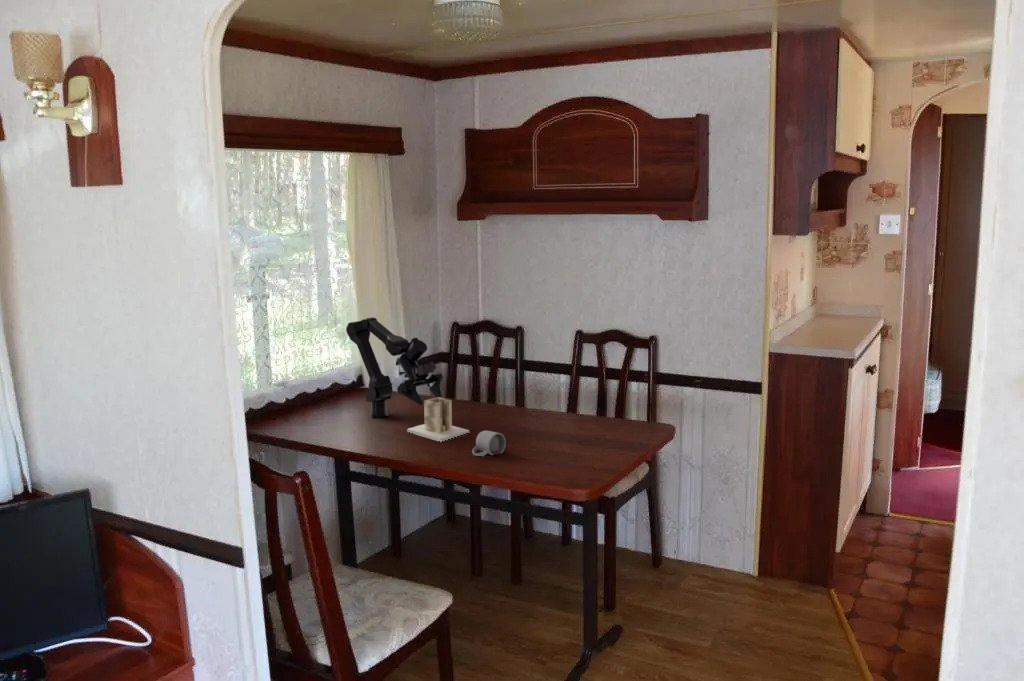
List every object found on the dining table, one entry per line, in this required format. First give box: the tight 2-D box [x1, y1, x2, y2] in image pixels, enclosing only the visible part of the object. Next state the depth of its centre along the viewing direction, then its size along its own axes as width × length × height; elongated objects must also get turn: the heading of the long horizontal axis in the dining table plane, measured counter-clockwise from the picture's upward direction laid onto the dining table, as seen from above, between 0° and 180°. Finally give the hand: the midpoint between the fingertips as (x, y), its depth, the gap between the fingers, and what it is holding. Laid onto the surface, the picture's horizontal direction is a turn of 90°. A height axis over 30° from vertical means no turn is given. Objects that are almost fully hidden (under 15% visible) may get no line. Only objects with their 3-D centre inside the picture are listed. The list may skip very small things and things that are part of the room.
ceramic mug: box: [471, 430, 507, 457], centre depth 285 cm, size 11×8×8 cm
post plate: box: [406, 423, 470, 443], centre depth 309 cm, size 18×14×5 cm
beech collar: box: [423, 396, 453, 434], centre depth 308 cm, size 7×7×11 cm
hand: (431, 402), depth 310 cm, fingers open, 9 cm apart
